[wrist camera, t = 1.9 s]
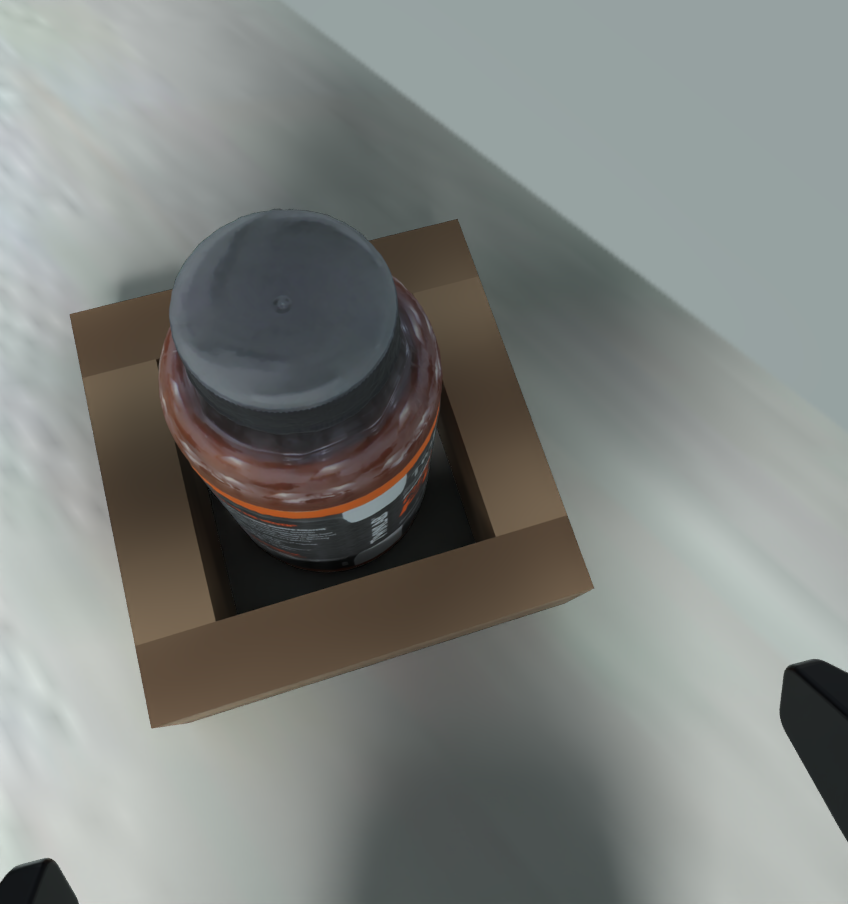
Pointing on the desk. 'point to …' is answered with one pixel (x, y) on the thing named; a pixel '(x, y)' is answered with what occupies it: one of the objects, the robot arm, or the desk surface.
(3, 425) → the desk surface
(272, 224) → the supplement bottle
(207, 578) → the walnut pocket block
